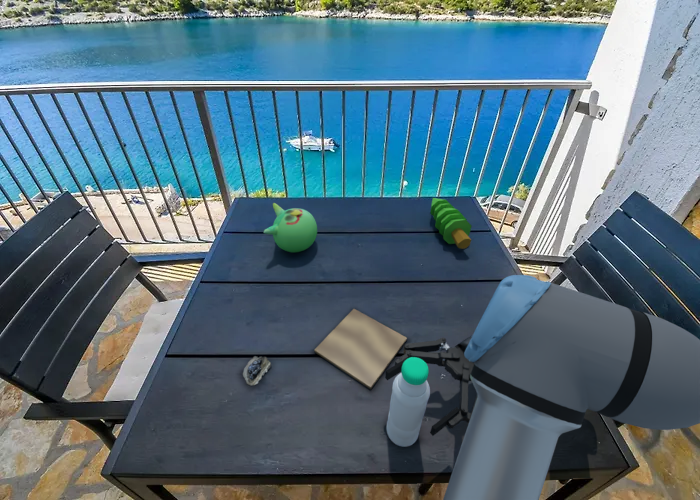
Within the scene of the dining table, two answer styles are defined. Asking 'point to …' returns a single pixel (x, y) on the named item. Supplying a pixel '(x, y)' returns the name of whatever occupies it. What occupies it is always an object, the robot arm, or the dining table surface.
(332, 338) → the gold metal sheet
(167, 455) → the dining table surface
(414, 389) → the water bottle
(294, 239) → the toy bird
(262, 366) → the geode
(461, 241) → the decorative tree
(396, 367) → the robot arm
